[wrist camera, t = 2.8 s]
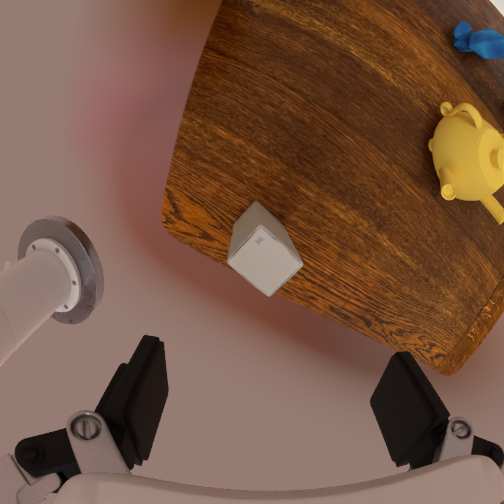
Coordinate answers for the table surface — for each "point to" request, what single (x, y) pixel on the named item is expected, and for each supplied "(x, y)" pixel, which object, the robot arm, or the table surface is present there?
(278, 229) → the box
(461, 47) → the crystal
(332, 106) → the table surface
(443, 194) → the teapot
